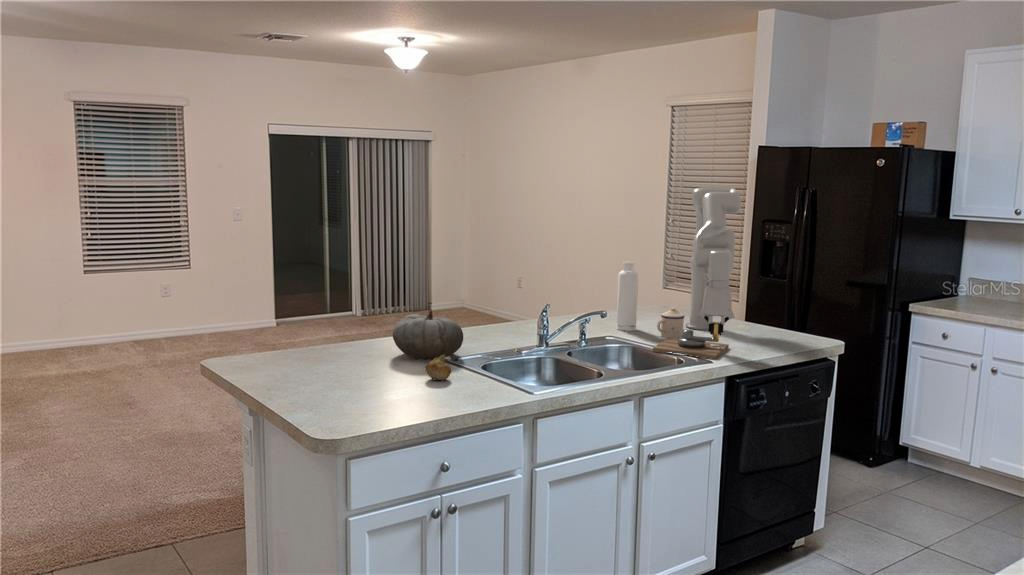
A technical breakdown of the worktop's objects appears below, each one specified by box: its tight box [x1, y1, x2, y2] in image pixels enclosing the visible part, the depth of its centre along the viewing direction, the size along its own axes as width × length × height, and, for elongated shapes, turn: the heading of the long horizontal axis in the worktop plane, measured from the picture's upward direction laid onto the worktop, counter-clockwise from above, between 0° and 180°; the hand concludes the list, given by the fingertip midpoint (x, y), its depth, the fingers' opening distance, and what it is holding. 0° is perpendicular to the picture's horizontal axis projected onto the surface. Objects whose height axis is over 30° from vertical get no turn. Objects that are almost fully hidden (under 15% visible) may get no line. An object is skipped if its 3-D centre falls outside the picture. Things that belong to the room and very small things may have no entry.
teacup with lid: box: [656, 307, 685, 339], centre depth 314 cm, size 12×9×12 cm
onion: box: [425, 355, 452, 381], centre depth 249 cm, size 8×8×8 cm
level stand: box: [652, 337, 730, 360], centre depth 294 cm, size 20×23×2 cm
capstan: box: [678, 321, 720, 347], centre depth 293 cm, size 15×10×9 cm
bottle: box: [616, 260, 639, 332], centre depth 327 cm, size 8×8×28 cm
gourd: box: [392, 309, 464, 361], centre depth 278 cm, size 25×25×17 cm
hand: (715, 333), depth 291 cm, fingers closed on capstan, 2 cm apart
